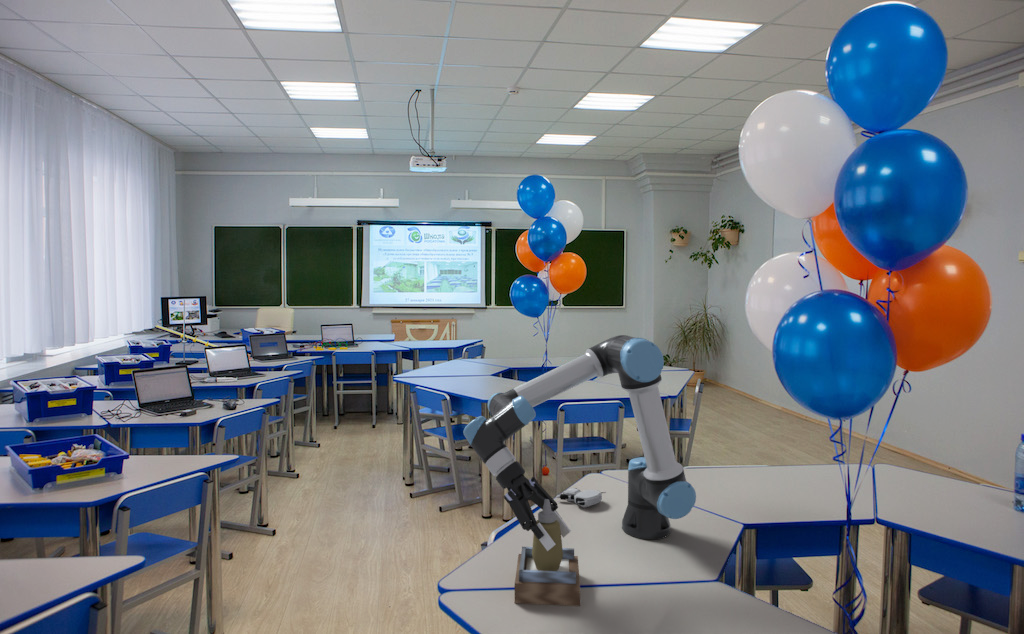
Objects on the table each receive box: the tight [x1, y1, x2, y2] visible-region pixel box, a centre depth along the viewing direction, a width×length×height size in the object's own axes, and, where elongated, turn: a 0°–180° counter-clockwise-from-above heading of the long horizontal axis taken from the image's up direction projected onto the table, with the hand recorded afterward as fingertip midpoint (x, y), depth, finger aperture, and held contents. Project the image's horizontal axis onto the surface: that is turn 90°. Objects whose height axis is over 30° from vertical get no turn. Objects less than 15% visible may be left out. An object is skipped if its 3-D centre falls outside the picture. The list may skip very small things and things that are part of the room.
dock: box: [514, 546, 581, 607], centre depth 153 cm, size 16×16×8 cm
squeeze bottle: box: [531, 499, 563, 571], centre depth 153 cm, size 8×8×18 cm
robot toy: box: [555, 487, 607, 509], centre depth 213 cm, size 12×4×15 cm
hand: (559, 540), depth 151 cm, fingers open, 8 cm apart
